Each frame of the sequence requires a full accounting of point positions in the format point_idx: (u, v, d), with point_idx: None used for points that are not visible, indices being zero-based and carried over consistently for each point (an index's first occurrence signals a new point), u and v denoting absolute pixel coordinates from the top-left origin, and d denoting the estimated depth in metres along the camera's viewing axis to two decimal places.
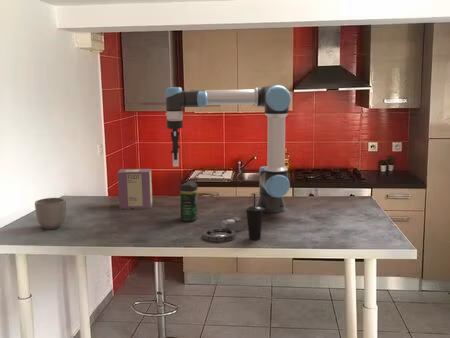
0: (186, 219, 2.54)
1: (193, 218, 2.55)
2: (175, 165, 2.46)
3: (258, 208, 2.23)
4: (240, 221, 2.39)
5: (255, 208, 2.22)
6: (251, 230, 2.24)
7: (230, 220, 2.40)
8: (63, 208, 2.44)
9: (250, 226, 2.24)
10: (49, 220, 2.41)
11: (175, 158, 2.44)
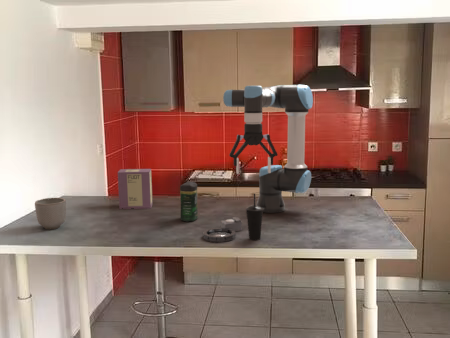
0: (186, 219, 2.54)
1: (193, 218, 2.55)
2: (236, 172, 2.22)
3: (258, 208, 2.23)
4: (239, 221, 2.39)
5: (255, 208, 2.22)
6: (251, 230, 2.24)
7: (229, 220, 2.40)
8: (63, 208, 2.44)
9: (250, 226, 2.24)
10: (49, 220, 2.41)
11: None
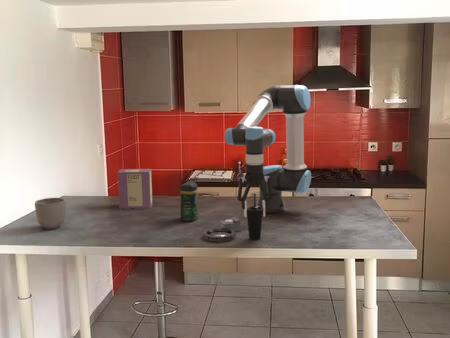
0: (186, 219, 2.54)
1: (193, 218, 2.55)
2: (244, 215, 2.25)
3: (258, 208, 2.23)
4: (238, 221, 2.39)
5: (255, 208, 2.22)
6: (251, 230, 2.24)
7: (228, 220, 2.40)
8: (63, 208, 2.44)
9: (250, 226, 2.24)
10: (49, 220, 2.41)
11: None
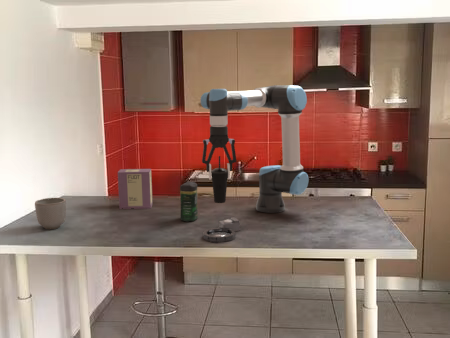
0: (186, 219, 2.54)
1: (193, 218, 2.55)
2: (209, 178, 2.25)
3: (223, 170, 2.22)
4: (237, 221, 2.39)
5: (220, 170, 2.22)
6: (216, 193, 2.24)
7: (227, 220, 2.40)
8: (63, 208, 2.44)
9: (215, 189, 2.24)
10: (49, 220, 2.41)
11: None
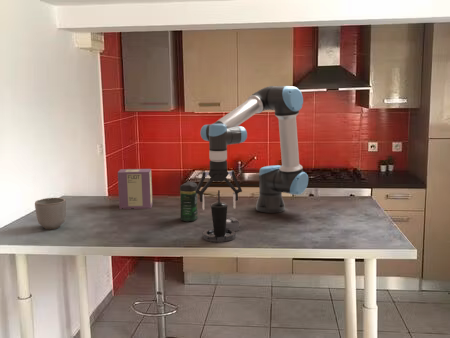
0: (186, 219, 2.54)
1: (193, 218, 2.55)
2: (202, 207, 2.27)
3: (222, 205, 2.25)
4: (236, 221, 2.39)
5: (219, 205, 2.25)
6: (216, 227, 2.27)
7: (226, 220, 2.40)
8: (63, 208, 2.44)
9: (214, 223, 2.27)
10: (49, 220, 2.41)
11: None
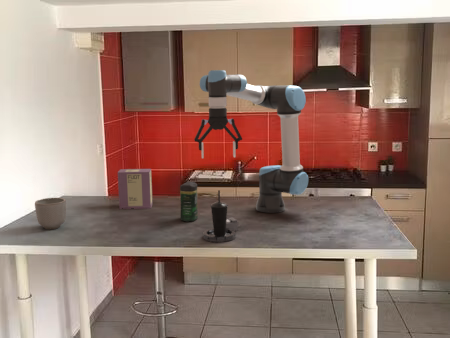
0: (186, 219, 2.54)
1: (193, 218, 2.55)
2: None
3: (222, 205, 2.25)
4: (235, 221, 2.39)
5: (219, 205, 2.25)
6: (216, 227, 2.27)
7: None
8: (63, 208, 2.44)
9: (215, 223, 2.27)
10: (49, 220, 2.41)
11: None
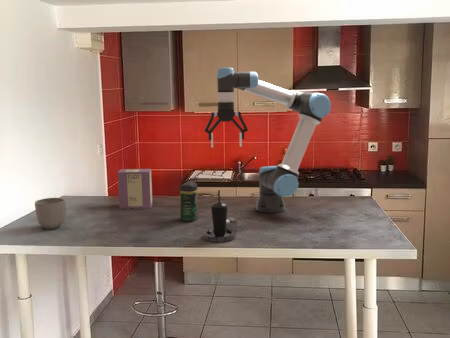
0: (186, 219, 2.54)
1: (193, 218, 2.55)
2: (211, 146, 2.47)
3: (222, 205, 2.25)
4: (235, 221, 2.39)
5: (219, 205, 2.25)
6: (216, 227, 2.27)
7: None
8: (63, 208, 2.44)
9: (215, 223, 2.27)
10: (49, 220, 2.41)
11: None
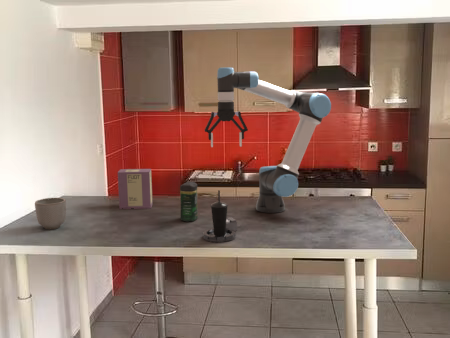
0: (186, 219, 2.54)
1: (193, 218, 2.55)
2: (211, 145, 2.47)
3: (222, 205, 2.25)
4: (234, 221, 2.39)
5: (219, 205, 2.25)
6: (216, 227, 2.27)
7: None
8: (63, 208, 2.44)
9: (215, 223, 2.27)
10: (49, 220, 2.41)
11: None
